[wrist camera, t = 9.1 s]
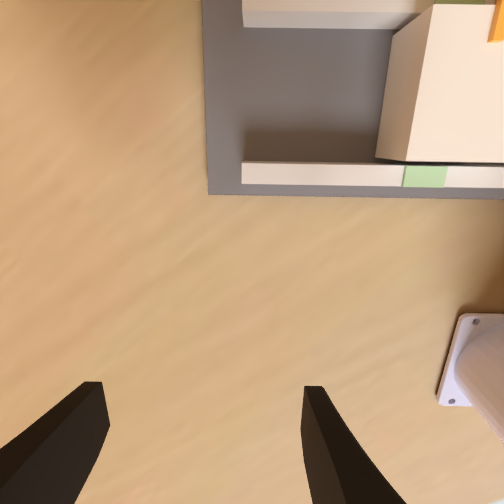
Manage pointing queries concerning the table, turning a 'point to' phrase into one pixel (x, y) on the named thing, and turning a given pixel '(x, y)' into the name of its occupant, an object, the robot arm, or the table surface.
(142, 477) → the table surface
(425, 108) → the gauge carriage
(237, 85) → the gauge base
